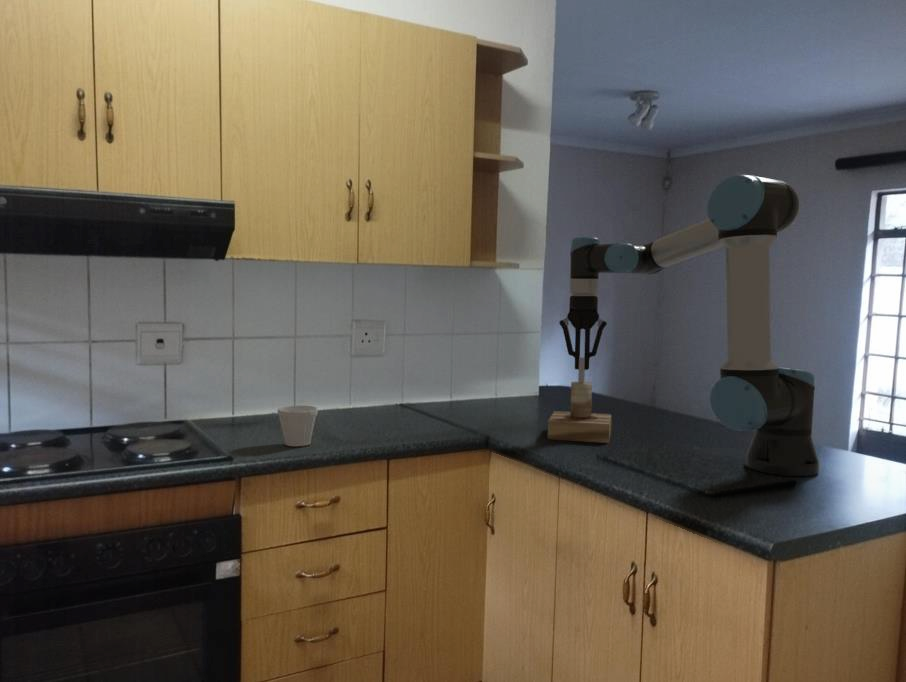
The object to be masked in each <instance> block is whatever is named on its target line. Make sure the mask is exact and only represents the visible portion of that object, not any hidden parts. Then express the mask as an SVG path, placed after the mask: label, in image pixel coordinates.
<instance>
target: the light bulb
mask: <svg viewBox="0 0 906 682" xmlns="http://www.w3.org/2000/svg"><path fill="white" fill-rule="evenodd" d="M592 396H593V383H592V382H589V381H584V382H578V381H571V382H570V412H571V414H570V417H571V418H574V419H590V418H591V413H592V404H593V403H592V402H593V397H592Z"/></svg>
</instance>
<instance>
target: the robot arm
mask: <svg viewBox="0 0 906 682" xmlns="http://www.w3.org/2000/svg"><path fill="white" fill-rule="evenodd" d="M706 206H707V207H706V211H707V213H706V214H707V217H708V219H706V220H703V221H700V222H698V223H696V224H692V225H690V226H687V227H686V228H683V229H680V230H677V231H675V232H674V233H671V234H668V235H665V236H663V237H661V238H658V239H656V240H653V241H651V242H648V243H645V244H632V243H629V242H615V243H604V244H600V239H599V238H598V237H593V236H592V237H591V236H590V237H589V236H585V237H583V236H582V237H581V236H580V237H578V236H577V237H574V238H573V239H572V240H571V247H570V253H569V255H570V274H569V275H570V276H569V277H570V279H569V294H570V296H569V305H568V306H569V310H568V313H567V316H566V317H565V318H564V319H560V320H559V322H558V323H559V325H560V327H561V328H562V330H563V336H564V340H565V345H566V348H567V349H566V350H567V353H568V356H571V357H573V358H574V370H578V380H577V382H586V381H585V380H586V371H588V370H589V369H590V358H591V357H595V356H596V355H597V353H598V348H599V345H600V342H601V338H602V334H603V330H604V328H606V326H607V325H608V322H607V321H606V320H604V319H602V317H600V314H599V311H598V310H599V309H598V305H599V304H598V303H599V297H598V296H597V295H598V294H599V274H602V273H604V274H641V275H642V274H643V275H654V274H655V275H656V274H661V273H662V272H664V271H665V270H666V269H667V267H669V266H672V265H676V264H679V263H681V262H684V261H686V260H690V259H692V258H694V257H697V256H700V255H703V254H706V253H708V252H711V251H715V250H717V249H719V248H723V247H724V248H725V257H726V258H725V265H726V266H725V269H726V270H725V273H726V274H725V275H726V276H725V277H726V278H725V279H726V330H727V331H726V332H727V333H726V334H727V335H726V337H727V338H726V339H727V344H726V345H727V347H726V348H727V358H726V361H724V362H723V364H721V365H720V368H719V371H720V373H719V374H720V376H719V377H720V379H719V380H718V381H716V382H715V385H713V386H712V388H711V389H710V390H711V391H710V394H709V403H710V407H711V410H712V412H713V414H714V416H715V418H716V419H717V420H719V422H720V423H721V424H722V425H723V426H724V427H726V428H727V429H731V430H733V431H739V432H743V431H746V432H752V431H753V432H754V435H753V437H752V439H751V441H750V444H749V446H748V449H747V452H746V455H745V466H746V467H748V468H749V469H751V470H753V471H757V472H760V473H764V474H769V475H774V476H775V475H776V476H785V477H811V476H815V475H818V473H819V470H820V468H819V467H820V463H819V458H818V455H817V452H816V447H815V446H814V441H813V438H812V437H813V436H812V433H813V416H814V401H815V399H814V398H815V391H816V386H815V375H814V374H813V373H812V372H811V371H809V370H805V369H804V370H803V369H797V368H795V369H794V368H789V367H779V366H778V365H777V364H776V363H775V362H774V361H773V360H772V357H771V356H772V355H771V354H772V353H771V351H772V350H771V346H772V345H771V342H772V341H771V289H770V287H771V283H770V282H771V281H770V280H771V278H770V277H771V274H770V271H771V270H770V269H771V268H770V267H771V266H770V246H771V245H772V243H774V242H775V240H777V239H778V233H780V232H782V231H783V230H785V229H788V227H789V226H791V224H793V222H794V221H795V220H796V218H797V216H798V213H799V209H800V201H799V197H798V194H797V192H796V190H795V189H794V188H793V187H792V186H791V185H790V184H789V183H788V182H785V181H783V180H780V179H776V178H773V179H772V178H768V177H764V176H763V177H760V176H756V175H754V174H750V173H749V174H733V175H730V176H727V177H725V178H723V179H722V180H721V181H720V182H719V183H718V184H717V185H716V186H715V187H714V188H713V190H712V191H711V193H710V195H709V197H708V200H707V205H706ZM596 323H597V327H598V329H597V332H596V336H595V340H594V343H593V346H592V350H591V329H592V328H593V327H594V326H595V325H596ZM570 324H571V326H573V328H574V329H575V331H574V332H575V333H574V334H575V336H574V337H575V339H574V348H573V344H572V338H571V334H570V331H569V327H568V326H569V325H570ZM582 330H584V356H583V357H581V333H582ZM590 350H591V351H590Z"/></svg>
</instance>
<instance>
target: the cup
mask: <svg viewBox="0 0 906 682" xmlns="http://www.w3.org/2000/svg"><path fill="white" fill-rule="evenodd" d="M318 412H319V409H318V407H316V406H314V405H313V406H311V405H287V406H281V407H279V408H277V415H278V419H279V422H280V427H281V431H282V435H283V439H284V444H285V446H286V447H288V446H289V447H288V448H304V447H308V445H309V446H310V445H311V441H312V436H313V432H314V427H315V421H316V417H317V416H318Z"/></svg>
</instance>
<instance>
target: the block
mask: <svg viewBox="0 0 906 682" xmlns="http://www.w3.org/2000/svg"><path fill="white" fill-rule="evenodd" d="M570 414H571V411H560V410H559V411H558V410H557V411H556V410H554V411H553V413H552V414H551V416H550V417H549V418H548V420H547V440H556V441H571V442H572V441H574V442H587V443H588V442H589V443H602V444H603V443H604V444H609V443H610V438H611V435H612V434H611V432H612V414H611V413H610V414H609V413H594V412H593V413H592V412H591V418H590V419H574V418H571V417H570Z"/></svg>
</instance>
